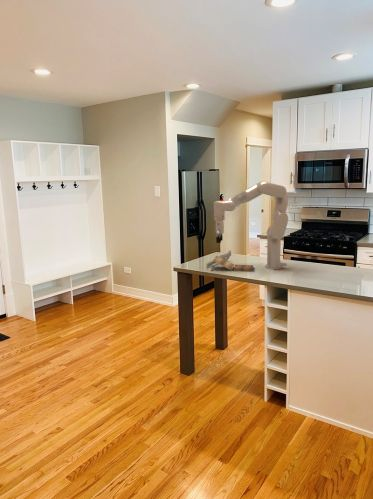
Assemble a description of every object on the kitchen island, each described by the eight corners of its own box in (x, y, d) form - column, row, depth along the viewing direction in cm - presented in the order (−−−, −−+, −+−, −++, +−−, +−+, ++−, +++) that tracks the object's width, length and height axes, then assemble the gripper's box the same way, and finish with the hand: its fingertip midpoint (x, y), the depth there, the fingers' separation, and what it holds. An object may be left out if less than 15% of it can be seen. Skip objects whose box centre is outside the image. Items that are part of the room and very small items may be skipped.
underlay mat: (254, 268, 280) (254, 267, 280) (254, 272, 267) (254, 271, 267) (213, 266, 286) (213, 266, 286) (210, 271, 274) (210, 270, 274)
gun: (231, 259, 305) (230, 250, 303) (208, 273, 285) (207, 263, 282) (229, 259, 306) (228, 250, 304) (206, 272, 286) (205, 263, 284)
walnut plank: (253, 267, 279) (253, 265, 279) (252, 271, 269) (252, 268, 268) (235, 267, 282) (235, 264, 281) (234, 270, 271) (234, 268, 271)
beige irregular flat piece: (233, 266, 282) (234, 264, 281) (232, 270, 271) (233, 267, 271) (215, 258, 284) (216, 255, 283) (213, 261, 273) (214, 258, 272)
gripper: (223, 219, 263) (223, 243, 266) (225, 216, 280) (225, 239, 283) (212, 219, 265) (212, 243, 268) (215, 216, 281) (215, 239, 284)
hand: (219, 241), depth 275 cm, fingers open, 9 cm apart
